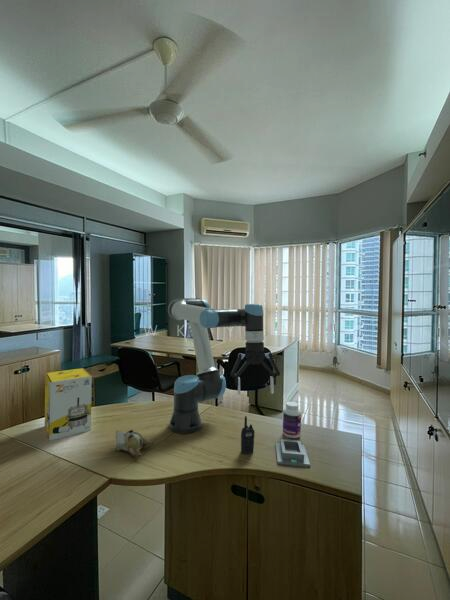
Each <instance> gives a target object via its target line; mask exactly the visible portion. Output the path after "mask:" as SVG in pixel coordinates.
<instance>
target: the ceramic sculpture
mask: <svg viewBox="0 0 450 600" xmlns="http://www.w3.org/2000/svg"><path fill="white" fill-rule="evenodd" d="M154 444H155V442H154V441H153V442H151V441H150V440H148V439H147V438H145V437H143V435H141V433H139V432H134V430H133V429H131V430H128V431H126V432H125V431H123V430H118V429H117V430H116V432H115V449H116V450H117V451H122V450H123V451H126V452H128V454H129V455H131V456H132V457H133V458H134V457H135V458H138V457H139V458H140V457H142V456H143V455H142V452H141V449H142V447H143V448H147V447H151V446H153V445H154Z"/></svg>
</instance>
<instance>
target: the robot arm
mask: <svg viewBox="0 0 450 600" xmlns="http://www.w3.org/2000/svg"><path fill="white" fill-rule="evenodd" d="M167 313H168V315H169V317H170V318H172V319H173V320H177V321H186V324H187V326H189V327H190V332H191V337H192V342H193V348H194V351H195V357H196V364H197V369H198V372H197V373H196V375H195V374H187V375H183V376H182V375H181V376H179V377H178V378H177V379H176V380H175V381H174V386H173V410H172V415H171V417H170V420H169V430H171V432H172V431H173V433H177V434H184V435H185V434H191V433H194V432H195V433H196V432H198V431H199V430H200V429H201V428H202V419H201V414H200V412H199V403H203V402H206V401H211V400H216V399H218V398H221V397H223V396H224V394H225V392H226V389H227V383H226V377H225V376H224V374H222V373H220V371H219V369H218V368H217V367H216V366H215V361H214V355H213V351H212V346H211V341H210V337H209V336H210V335H209V330H208V329H214V328H229V327H230V328H231V327H245V328H244V333H245V334H244V337H245V339H244V340H245V353H241V352H239V353H238V354H237V359H236V361H235V364H234V365H233V367H232V370H231V372H230V377H231V378H234V385H235V387H237V394H238V396H241V378H240V376H241V375H242V374H243V372H244V371H245V370H246V368H247V367H248V366H249V365H261V364H262V365H263V367H264V368H265V370H267V371H268V373H269V374H270V376H269V377H270V378H269V380H270V381H269V383H270V384H269V386H270V388H269V389H270V393H271V394H272V395H273V394H274V393H275V389H274V387H275V386H276V385H277V377H279V376H281V372H280V370H279V369H278V366H277V365H276V363H275V360H274V359H273V354H272V352H270V351H268V352H266V353H265V342H264V340H265V338H264V337H265V336H264V309H263V305H262V304H261V303H247V304H245V305H244V308H230V309H223V308H222V309H218V308H217V309H215V308H211V307H210V304H209V302H208V300H206V299H205V298H199V297H196V298H195V297H194V298H193V297H192V298H191V297H189V298H182V297H180V298H176V299H174V300H171V302H169V304H168V307H167ZM244 357H245V359H246V360H245V361H244V363H243V364H242V365H241V367H240V368H239V366H240V363H241V361H242V360H244ZM265 358H266V359H268V360H269V362H270V365H271V366H272V368H273V369H274V371H273V370H272V368H270V367H269V365H268V364H267V363H266V361H264V360H265ZM238 368H239V369H238Z"/></svg>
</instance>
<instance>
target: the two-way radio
mask: <svg viewBox="0 0 450 600" xmlns="http://www.w3.org/2000/svg"><path fill="white" fill-rule="evenodd" d="M254 445H255V429H254V427H253V424H249V426H248V417H247V415H245V416H244V427H242V429H241V432H240V452H241V453H242V454H253V453H254V448H255V446H254Z"/></svg>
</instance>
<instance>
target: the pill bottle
mask: <svg viewBox="0 0 450 600" xmlns="http://www.w3.org/2000/svg"><path fill="white" fill-rule="evenodd" d="M285 404H286V405H285V407H284V408H283V410H282V412H283V413H282V434H283V435H284V436H285V437H286V438H290V439H297V438H299V437H301V430H302V429H301V426H302V411H301V409H300V408H299V403H297V402H296V401H287V402H286V403H285Z"/></svg>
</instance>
